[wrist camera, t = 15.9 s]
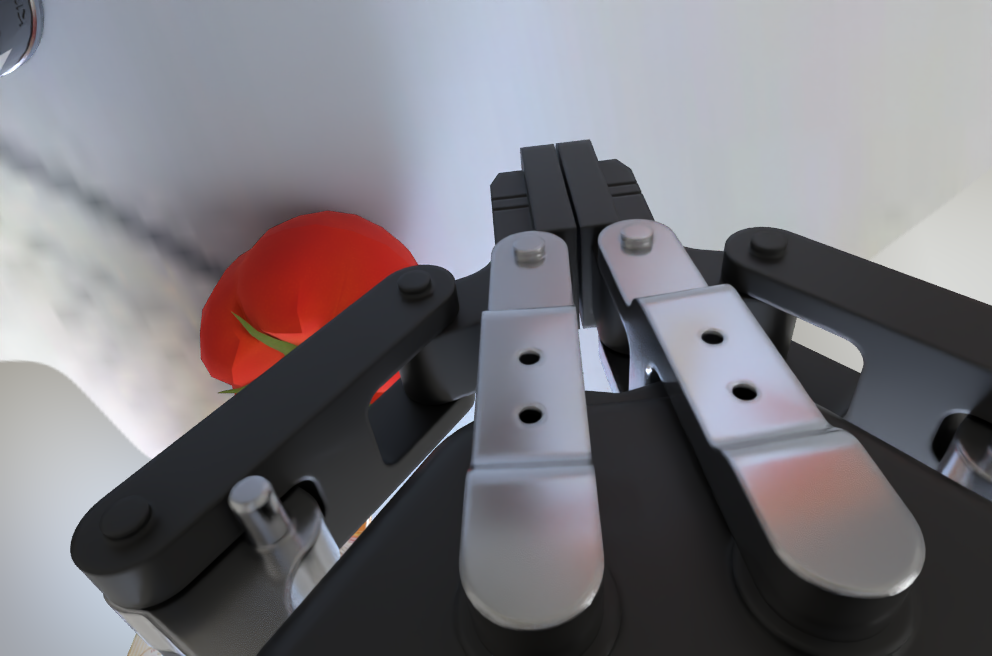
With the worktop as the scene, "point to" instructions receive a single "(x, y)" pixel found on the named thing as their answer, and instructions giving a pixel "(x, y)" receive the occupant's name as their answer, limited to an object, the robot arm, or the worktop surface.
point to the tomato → (293, 291)
